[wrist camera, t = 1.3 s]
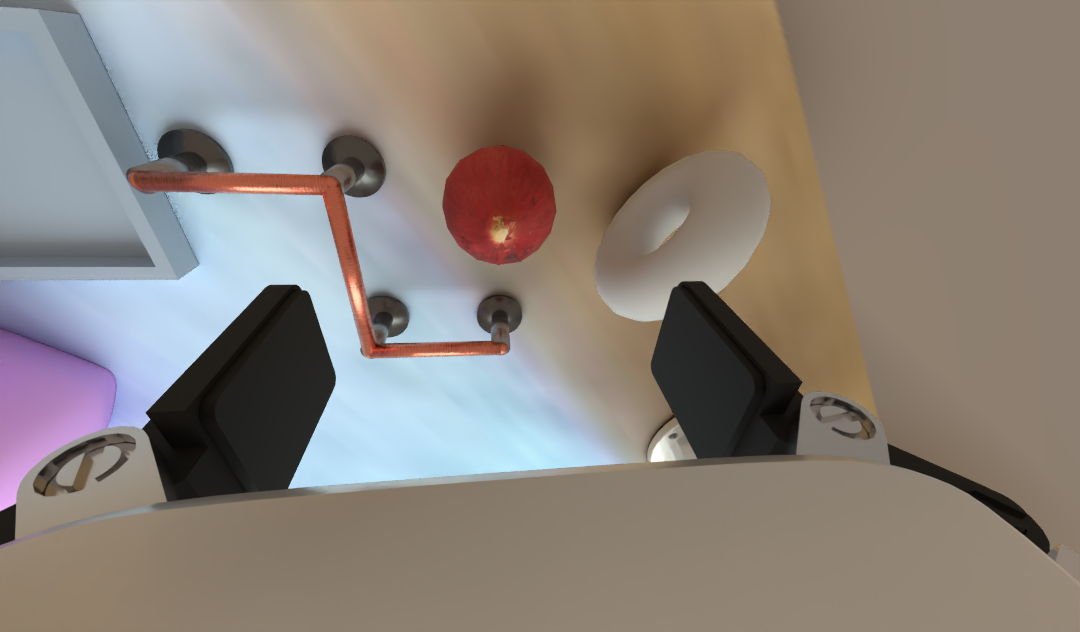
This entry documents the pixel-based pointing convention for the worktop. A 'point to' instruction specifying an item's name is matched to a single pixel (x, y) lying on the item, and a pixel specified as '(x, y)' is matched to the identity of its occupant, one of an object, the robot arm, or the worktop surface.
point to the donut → (682, 232)
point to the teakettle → (45, 405)
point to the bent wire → (350, 171)
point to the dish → (73, 164)
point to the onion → (499, 204)
